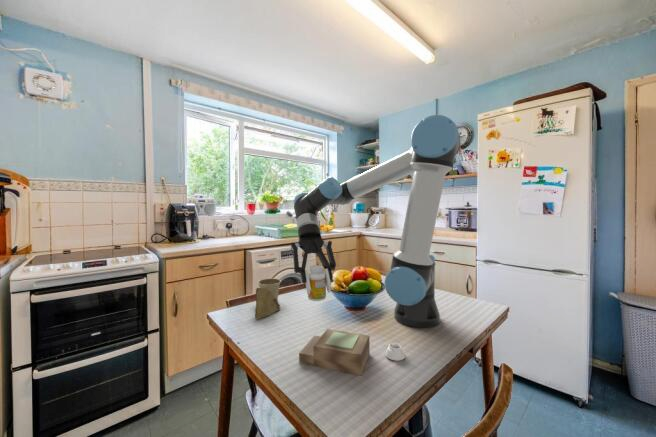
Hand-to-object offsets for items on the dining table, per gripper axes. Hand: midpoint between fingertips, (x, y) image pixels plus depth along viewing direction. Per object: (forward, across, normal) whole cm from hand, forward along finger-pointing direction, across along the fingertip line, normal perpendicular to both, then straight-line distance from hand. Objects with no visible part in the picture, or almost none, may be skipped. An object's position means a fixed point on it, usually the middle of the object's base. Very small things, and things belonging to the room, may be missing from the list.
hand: (319, 291), depth 79 cm
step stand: (+18, -3, -4) cm, 18 cm away
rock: (-7, +14, -29) cm, 33 cm away
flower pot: (-16, +13, -38) cm, 43 cm away
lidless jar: (+20, -18, -3) cm, 26 cm away
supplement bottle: (0, 0, -5) cm, 5 cm away
